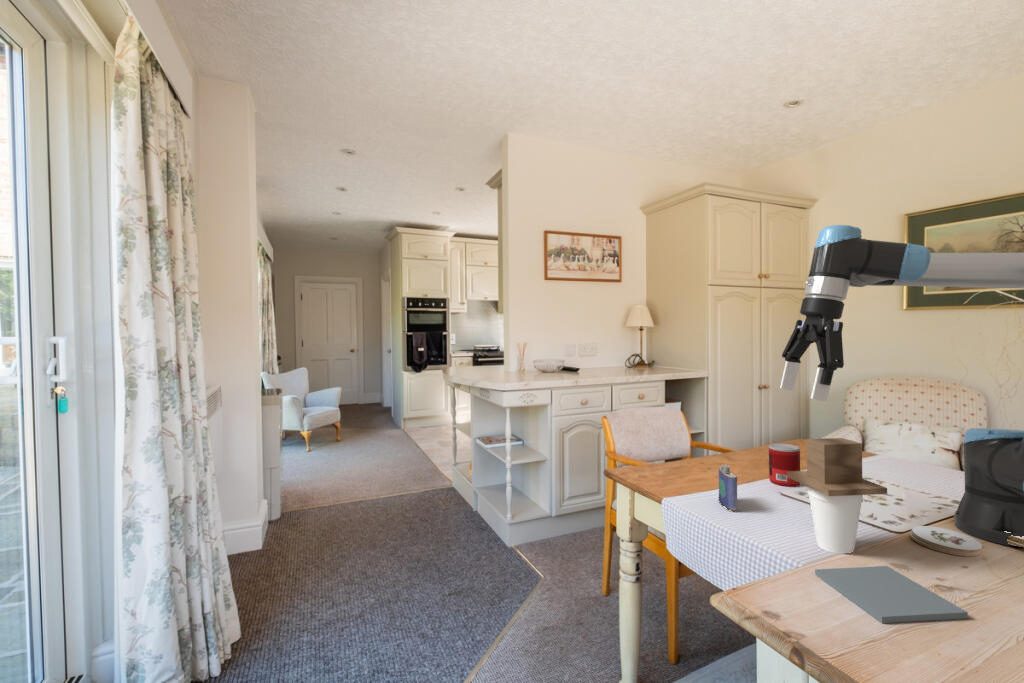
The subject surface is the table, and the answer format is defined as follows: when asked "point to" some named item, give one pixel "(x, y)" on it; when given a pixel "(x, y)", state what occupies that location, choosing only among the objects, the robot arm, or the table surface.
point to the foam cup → (835, 520)
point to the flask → (727, 488)
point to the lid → (835, 469)
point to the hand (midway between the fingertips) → (801, 394)
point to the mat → (889, 595)
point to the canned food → (783, 464)
